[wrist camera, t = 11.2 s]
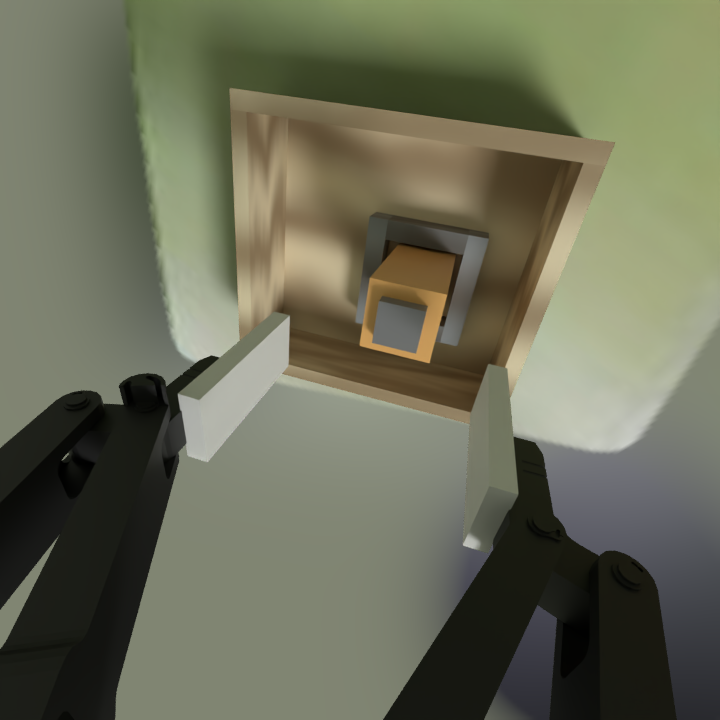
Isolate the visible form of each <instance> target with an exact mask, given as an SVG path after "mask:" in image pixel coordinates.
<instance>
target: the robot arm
mask: <svg viewBox="0 0 720 720" xmlns="http://www.w3.org/2000/svg"><path fill="white" fill-rule="evenodd" d="M289 326H290V315H286V314H282V313H278V312H273V313H272V314H271V315H270V316H268V317H267V318H266V319H265V320H264V321H263V322H261V323H260V324H259V325H258V326H257V327H255V328H254V329H253V330H252V331H251V332H250V333H248V334H247V335H246V336H245V337H244V338H243V339H241V340H240V341H239V342H238V343H237V344H235V345H234V346H233V347H232V348H231V349H230V350H228V351H227V352H226V353H225V354H224V355H223V356H221V357H220V358H219V357H215V356H209V357H207V358H204V359H202V360H199V361H198V362H197V363H195V364H194V365H193V366H192V367H190V369H188V370H187V371H185V372H184V373H183V375H180V377H178V378H177V379H175V380H174V381H173V382H172V383H170V384H169V385H168V386H167V387H166V384H165V380H164V379H163V378H162V377H161V376H159V375H157V374H149V373H147V374H138V375H135V376H131V377H129V378H127V379H126V380H124V381H123V382H122V383H121V384H120V385H119V388H120V392H121V396H122V400H123V403H124V405H118V404H103V401H102V398H101V396H100V395H99V394H98V393H97V392H93V391H77V392H72V393H70V394H67V395H64V396H62V397H61V398H59V399H58V400H56V401H55V402H54V403H53V404H51V405H50V406H49V407H48V408H47V409H46V410H44V411H43V412H42V413H41V414H40V415H38V416H37V417H36V418H35V419H34V420H33V421H32V422H30V423H29V424H28V425H27V426H26V427H25V428H23V429H22V430H21V431H20V432H19V433H17V434H16V435H15V436H14V437H13V438H12V439H10V440H9V441H8V442H7V443H6V444H4V446H2V447H1V448H0V609H1V608H2V607H3V606H4V604H5V603H6V602H7V600H8V599H9V598H10V597H11V595H12V594H13V593H14V592H15V590H16V589H17V588H18V586H19V585H20V584H21V583H22V581H23V580H24V579H25V577H26V576H27V575H28V574H29V572H30V571H31V570H32V569H33V568H34V566H35V565H36V564H37V562H38V561H39V560H40V559H41V557H42V556H43V555H44V554H45V552H46V551H47V550H48V548H49V547H50V546H51V545H52V543H53V542H54V541H55V540H56V538H57V537H58V536H59V537H58V539H57V541H56V543H55V545H54V547H53V549H52V551H51V553H50V555H49V557H48V559H47V561H46V563H45V565H44V567H43V569H42V571H41V573H40V575H39V577H38V579H37V581H36V583H35V585H34V587H33V589H32V591H31V593H30V595H29V597H28V599H27V601H26V603H25V605H24V607H23V609H22V611H21V613H20V615H19V617H18V619H17V621H16V623H15V625H14V627H13V629H12V631H11V633H10V635H9V637H8V639H7V640H6V642H5V644H4V645H3V647H2V648H1V649H0V720H115V710H116V709H115V708H116V707H115V706H116V691H117V687H118V683H119V679H120V675H121V672H122V668H123V664H124V661H125V657H126V653H127V650H128V646H129V642H130V638H131V635H132V631H133V628H134V624H135V620H136V617H137V613H138V609H139V606H140V602H141V598H142V595H143V591H144V587H145V584H146V580H147V577H148V573H149V569H150V565H151V562H152V558H153V555H154V551H155V547H156V544H157V540H158V536H159V533H160V529H161V525H162V522H163V518H164V514H165V511H166V507H167V503H168V500H169V496H170V492H171V489H172V485H173V481H174V477H175V474H176V470H177V467H178V463H179V454H178V452H179V451H180V450H181V448H183V446H184V445H185V444H186V448H187V454H188V456H190V457H193V458H196V459H199V460H202V461H205V462H208V461H209V459H211V457H212V456H213V455H214V454H215V453H216V451H217V450H218V449H219V448H220V447H221V445H222V444H223V443H224V442H225V440H227V438H228V437H229V436H230V435H231V434H232V432H233V431H234V430H235V429H236V427H237V426H238V425H239V424H240V423H241V422H242V421H243V419H244V418H245V417H246V416H247V415H248V413H249V412H250V411H251V410H252V409H253V407H254V406H255V405H256V404H257V403H258V402H259V400H260V399H261V398H262V397H263V395H264V394H265V393H266V392H267V391H268V390H269V388H270V387H271V386H272V385H273V384H274V383H275V381H276V380H277V379H278V378H279V377H280V375H281V374H282V373H283V372H284V371H285V370H286V368H287V367H288V364H289ZM67 453H69V455H68V456H67V457H66V458H65V459H64V460H62V459H63V457H64V456H65V455H66V454H67ZM467 463H468V464H467V479H466V497H465V514H464V532H463V545H464V546H467V547H470V548H473V549H476V550H479V551H482V552H485V553H488V552H489V550H490V548H491V546H492V544H493V551H492V552H491V554H490V556H489V557H488V559H487V560H486V562H485V563H484V565H483V566H482V568H481V570H480V571H479V573H478V574H477V576H476V577H475V579H474V580H473V582H472V583H471V585H470V587H469V588H468V590H467V591H466V593H465V594H464V596H463V597H462V599H461V600H460V602H459V603H458V605H457V606H456V608H455V610H454V611H453V613H452V614H451V616H450V617H449V619H448V621H447V622H446V623H445V625H444V627H443V628H442V630H441V631H440V633H439V634H438V636H437V637H436V639H435V640H434V642H433V644H432V645H431V647H430V648H429V650H428V651H427V653H426V654H425V656H424V657H423V659H422V661H421V662H420V664H419V665H418V667H417V668H416V670H415V671H414V673H413V674H412V676H411V677H410V679H409V681H408V682H407V684H406V685H405V687H404V688H403V690H402V691H401V693H400V695H399V696H398V698H397V699H396V701H395V702H394V704H393V705H392V707H391V708H390V710H389V712H388V713H387V715H386V716H385V718H384V719H383V720H484V718H485V716H486V714H487V712H488V710H489V707H490V705H491V703H492V701H493V699H494V697H495V695H496V692H497V690H498V688H499V686H500V684H501V682H502V679H503V677H504V675H505V673H506V671H507V668H508V667H509V665H510V662H511V660H512V658H513V656H514V654H515V652H516V649H517V647H518V645H519V643H520V641H521V639H522V637H523V634H524V632H525V629H526V628H527V626H528V624H529V622H530V619H531V617H532V615H533V613H534V611H535V609H536V607H537V605H538V606H540V607H541V608H543V609H544V610H546V611H547V612H549V613H550V614H552V615H553V616H555V617H556V618H557V627H556V639H555V652H554V665H553V678H552V691H551V705H550V717H549V720H677V718H676V712H675V705H674V698H673V692H672V685H671V677H670V671H669V664H668V657H667V650H666V643H665V636H664V630H663V623H662V616H661V609H660V603H659V596H658V590H657V587H656V584H655V581H654V579H653V578H652V577H651V575H650V574H649V572H648V571H647V570H646V569H645V568H644V567H643V566H642V565H641V564H640V563H639V562H637V561H636V560H635V559H633V558H631V557H630V556H628V555H626V554H624V553H621V552H618V551H605V552H604V553H602V554H601V555H600V556H598V555H597V554H595V553H593V552H591V551H590V550H588V549H586V548H584V547H583V546H581V545H579V544H578V543H576V542H575V541H573V540H572V539H571V538H569V537H568V536H567V534H566V531H565V528H564V526H563V525H562V524H561V522H560V521H559V520H558V518H556V517H555V516H554V514H553V509H552V503H551V497H550V492H549V486H548V480H547V478H546V477H547V475H546V469H545V463H544V457H543V454H542V452H541V451H540V449H539V448H538V446H537V445H536V443H535V442H531V441H527V440H524V439H520V438H516V437H513V427H512V416H511V404H510V393H509V382H508V371H507V368H504V367H500V366H495V365H491V364H488V366H487V369H486V372H485V375H484V377H483V380H482V383H481V386H480V389H479V391H478V394H477V397H476V400H475V403H474V405H473V408H472V411H471V414H470V426H469V444H468V461H467Z"/></svg>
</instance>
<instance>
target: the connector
mask: <svg viewBox="0 0 720 720" xmlns="http://www.w3.org/2000/svg"><path fill="white" fill-rule="evenodd" d="M455 258H456V253H451V252H446V251H441V250H436V249H431V248H426V247H421V246H416V245H411V244H406V243H401V242H400V243H399V244H398V245H397V247H396V248H395V249H394V250H393V251H392V252H391V254H390V255H389V256H388V257H387V258H386V259H385V261H384V262H383V263H382V264H381V265H380V266H379V268H378V269H377V270H376V271H375V272H374V274H373V275H372V276H371V277H370V280H369V287H368V293H367V300H366V306H365V313H364V319H363V326H362V333H361V339H360V346H362V347H366V348H370V349H374V350H378V351H382V352H386V353H390V354H394V355H398V356H402V357H406V358H410V359H414V360H418V361H422V362H426V363H430V359H431V355H432V351H433V347H434V344H435V340H436V336H437V332H438V329H439V325H440V321H441V317H442V313H443V310H444V306H445V302H446V298H447V294H448V290H449V285H450V281H451V276H452V271H453V267H454V262H455Z"/></svg>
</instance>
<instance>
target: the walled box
mask: <svg viewBox="0 0 720 720" xmlns="http://www.w3.org/2000/svg"><path fill="white" fill-rule="evenodd" d="M229 89H230V114H231V138H232V162H233V187H234V211H235V235H236V260H237V284H238V309H239V333H240V340H241V339H243V338H244V337H245V336H246V335H247V334H248V333H250V332H251V331H252V330H253V329H254V328H255V327H257V326H258V325H259V324H260V323H261V322H263V321H264V320H265V319H266V318H267V317H268V316H270V315H271V314H272V313H273V312H278V313H282V314H286V315H290V326H289V364H288V367H287V368H286V370H285V371H284V372H283V373H282V374H285V375H289V376H292V377H296V378H300V379H304V380H307V381H311V382H315V383H319V384H322V385H326V386H330V387H333V388H337V389H341V390H345V391H348V392H352V393H356V394H360V395H363V396H367V397H371V398H374V399H378V400H382V401H386V402H389V403H393V404H397V405H401V406H404V407H408V408H412V409H415V410H419V411H423V412H427V413H430V414H434V415H438V416H442V417H445V418H449V419H453V420H456V421H460V422H464V423H468V424H470V414H471V411H472V408H473V405H474V403H475V400H476V397H477V394H478V391H479V389H480V386H481V383H482V380H483V377H484V375H485V372H486V369H487V366H488V364H491V365H495V366H500V367H504V368H507V371H508V382H509V393H510V397H511V395H512V392H513V390H514V387H515V385H516V382H517V380H518V378H519V375H520V373H521V370H522V368H523V365H524V363H525V361H526V358H527V356H528V353H529V351H530V348H531V346H532V344H533V341H534V339H535V336H536V334H537V331H538V329H539V327H540V324H541V322H542V319H543V317H544V314H545V312H546V310H547V307H548V305H549V302H550V300H551V297H552V295H553V293H554V290H555V288H556V285H557V283H558V280H559V278H560V276H561V273H562V271H563V268H564V266H565V263H566V261H567V259H568V256H569V254H570V251H571V249H572V246H573V244H574V242H575V239H576V237H577V234H578V232H579V229H580V227H581V225H582V222H583V220H584V217H585V215H586V212H587V210H588V208H589V205H590V203H591V200H592V198H593V195H594V193H595V190H596V188H597V186H598V183H599V181H600V178H601V176H602V173H603V171H604V169H605V166H606V164H607V161H608V159H609V156H610V154H611V152H612V149H613V147H614V144H615V142H608V141H601V140H594V139H587V138H580V137H573V136H566V135H559V134H551V133H544V132H537V131H530V130H523V129H516V128H509V127H502V126H495V125H488V124H481V123H474V122H467V121H460V120H453V119H446V118H439V117H431V116H424V115H417V114H410V113H403V112H396V111H389V110H382V109H375V108H368V107H361V106H354V105H347V104H340V103H333V102H326V101H318V100H311V99H304V98H297V97H290V96H283V95H276V94H269V93H262V92H255V91H248V90H241V89H234V88H229ZM400 242H401V243H406V244H411V245H416V246H421V247H426V248H431V249H436V250H441V251H446V252H451V253H456V258H455V262H454V267H453V271H452V276H451V281H450V285H449V290H448V294H447V298H446V302H445V306H444V310H443V313H442V317H441V321H440V325H439V329H438V332H437V336H436V340H435V344H434V347H433V351H432V355H431V359H430V363H426V362H422V361H418V360H414V359H410V358H406V357H402V356H398V355H394V354H390V353H386V352H382V351H378V350H374V349H370V348H366V347H362V346H360V339H361V333H362V326H363V319H364V313H365V306H366V300H367V293H368V287H369V280H370V277H371V276H372V275H373V274H374V272H375V271H376V270H377V269H378V268H379V266H380V265H381V264H382V263H383V262H384V261H385V259H386V258H387V257H388V256H389V255H390V254H391V252H392V251H393V250H394V249H395V248H396V247H397V245H398V244H399V243H400Z"/></svg>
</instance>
